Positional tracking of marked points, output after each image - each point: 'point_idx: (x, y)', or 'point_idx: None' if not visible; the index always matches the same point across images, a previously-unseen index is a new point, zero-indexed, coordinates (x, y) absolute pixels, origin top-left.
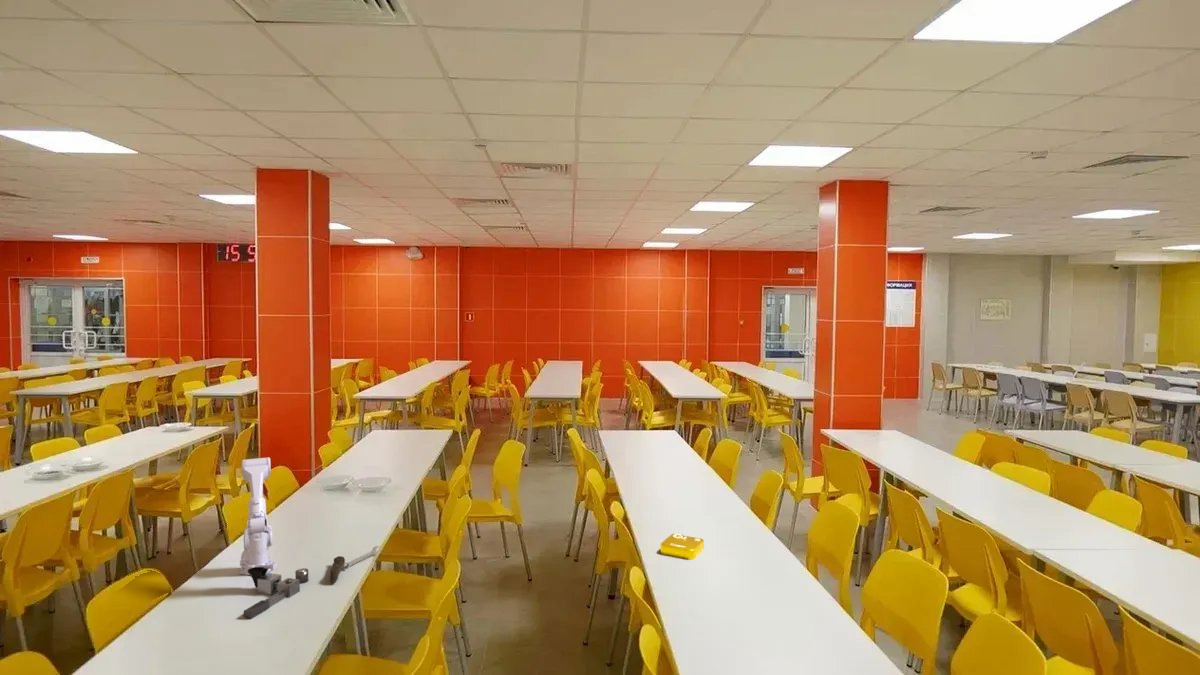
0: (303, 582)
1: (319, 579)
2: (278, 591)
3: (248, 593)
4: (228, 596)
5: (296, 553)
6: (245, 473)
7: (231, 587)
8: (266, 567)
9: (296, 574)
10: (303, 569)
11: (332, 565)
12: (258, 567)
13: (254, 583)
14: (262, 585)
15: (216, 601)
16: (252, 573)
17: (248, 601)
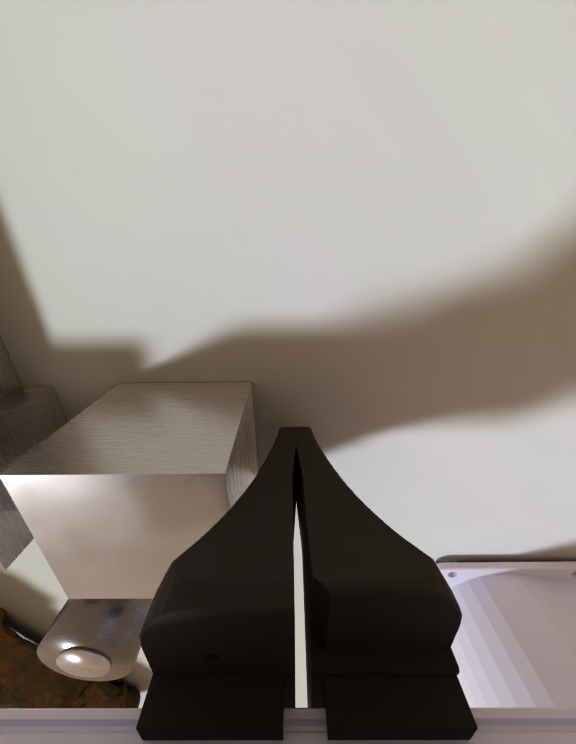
0: None
1: (62, 600)
2: (10, 405)
3: (326, 357)
4: (473, 254)
5: None
6: None
7: (548, 407)
8: (69, 740)
9: (94, 619)
10: (87, 673)
11: (63, 706)
12: (256, 715)
13: (314, 445)
14: (176, 424)
15: (543, 92)
16: (328, 543)
17: (186, 214)
